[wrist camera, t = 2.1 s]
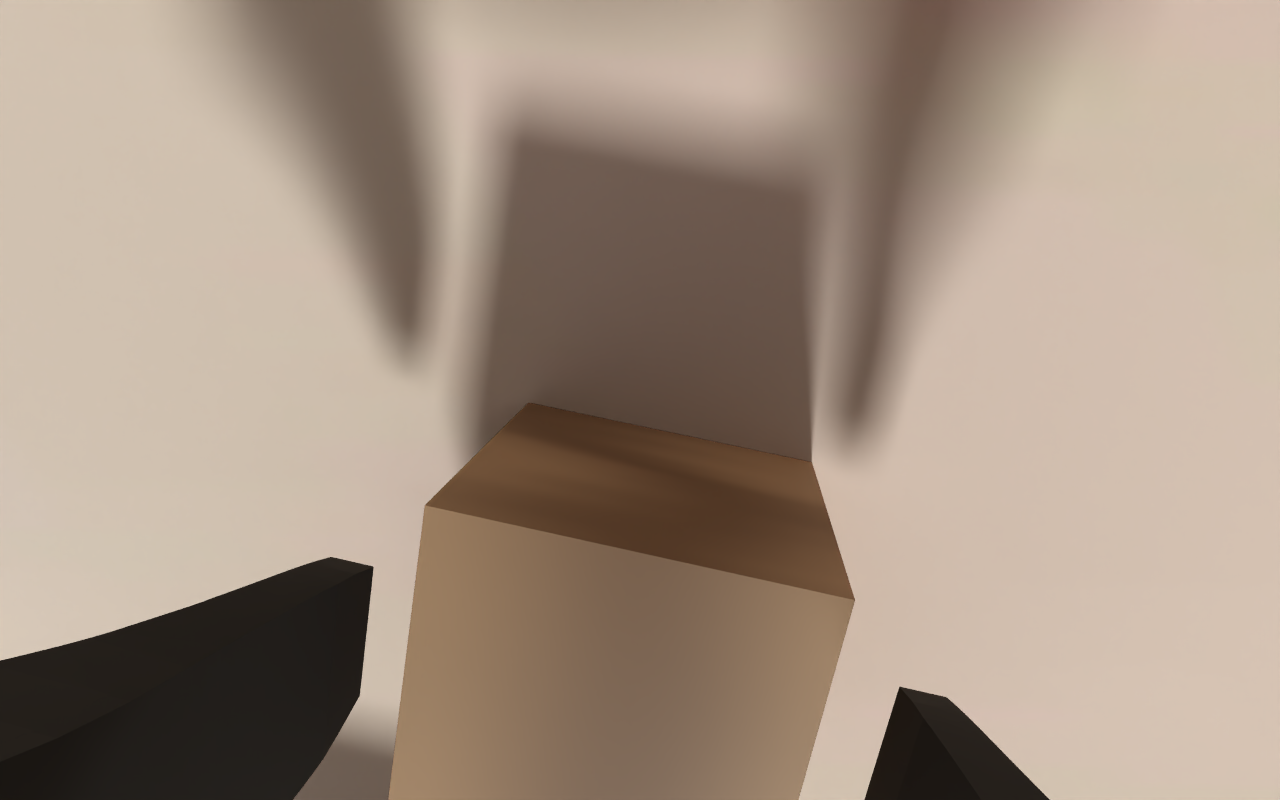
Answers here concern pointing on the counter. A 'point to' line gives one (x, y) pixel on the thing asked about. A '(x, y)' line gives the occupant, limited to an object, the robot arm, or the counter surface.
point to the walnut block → (619, 620)
